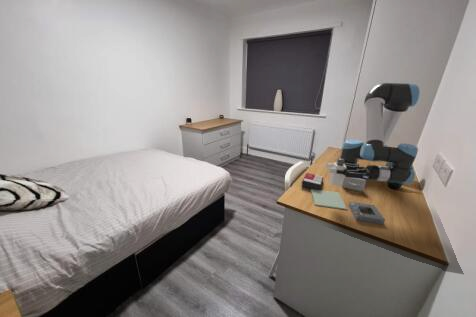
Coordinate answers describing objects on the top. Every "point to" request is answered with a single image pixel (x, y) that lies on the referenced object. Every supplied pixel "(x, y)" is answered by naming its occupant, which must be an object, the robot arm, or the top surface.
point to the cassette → (358, 186)
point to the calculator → (312, 181)
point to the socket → (359, 216)
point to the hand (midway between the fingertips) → (328, 167)
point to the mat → (328, 199)
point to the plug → (337, 178)
